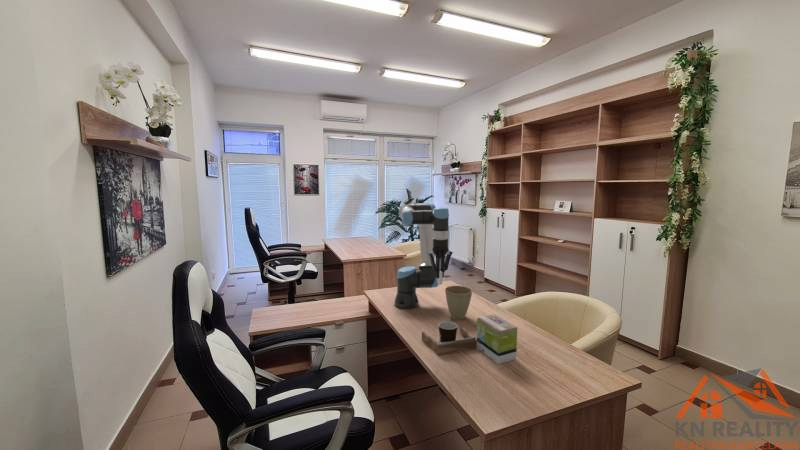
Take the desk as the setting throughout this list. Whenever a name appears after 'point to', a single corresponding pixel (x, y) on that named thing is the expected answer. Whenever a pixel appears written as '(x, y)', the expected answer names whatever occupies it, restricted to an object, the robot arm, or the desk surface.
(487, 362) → the desk surface
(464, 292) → the plant pot
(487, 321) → the tea box
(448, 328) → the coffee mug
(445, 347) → the organizer
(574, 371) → the desk surface
